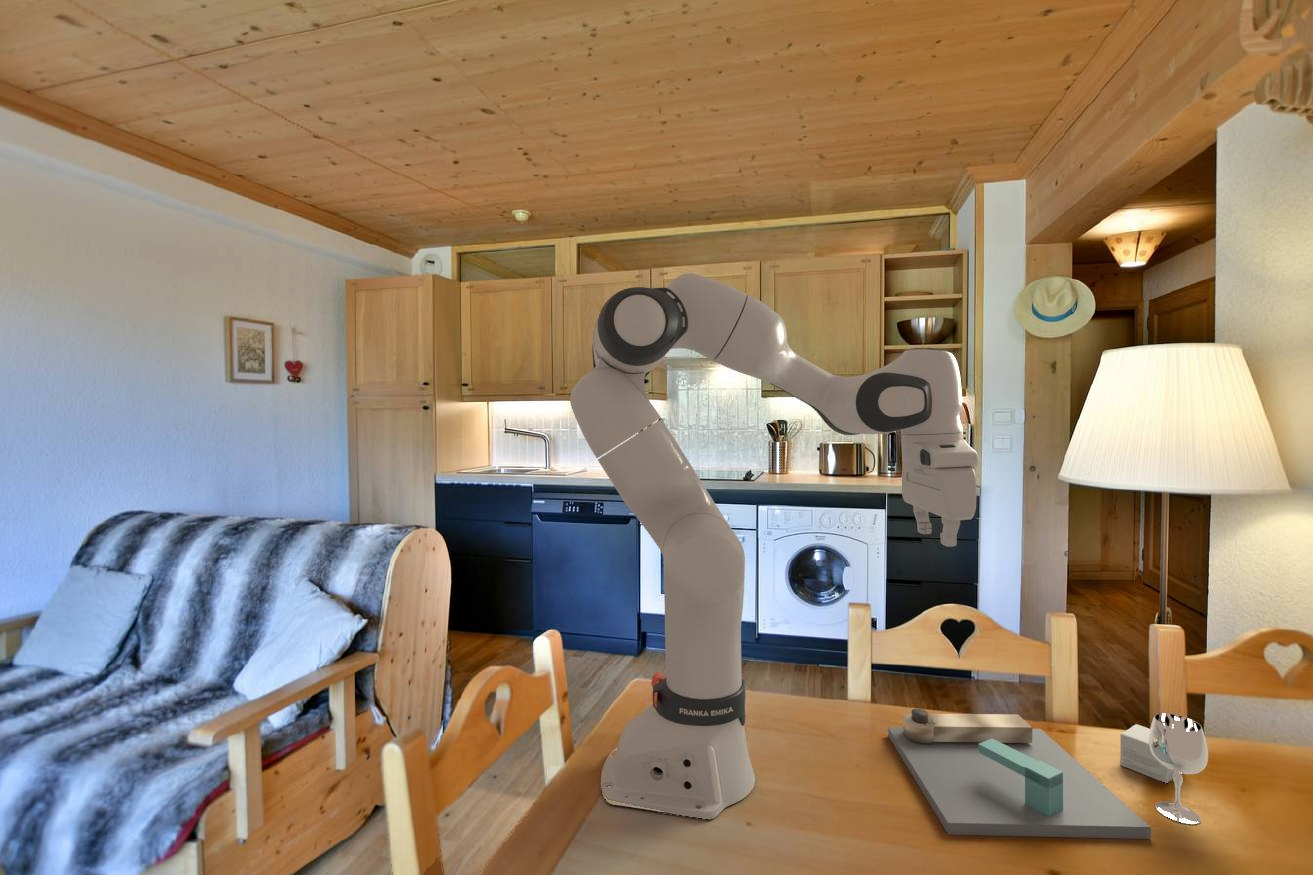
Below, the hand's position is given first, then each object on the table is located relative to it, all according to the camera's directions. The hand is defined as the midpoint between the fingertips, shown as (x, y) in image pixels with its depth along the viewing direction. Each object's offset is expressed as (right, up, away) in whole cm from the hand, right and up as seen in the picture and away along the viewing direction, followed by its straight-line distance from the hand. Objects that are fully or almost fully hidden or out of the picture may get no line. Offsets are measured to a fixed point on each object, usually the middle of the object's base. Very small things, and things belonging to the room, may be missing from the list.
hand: (936, 539), depth 93 cm
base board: (+5, -33, -9) cm, 34 cm away
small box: (+28, -33, -7) cm, 44 cm away
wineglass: (+24, -33, -16) cm, 44 cm away
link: (+4, -31, 0) cm, 31 cm away
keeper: (+5, -32, -14) cm, 35 cm away
